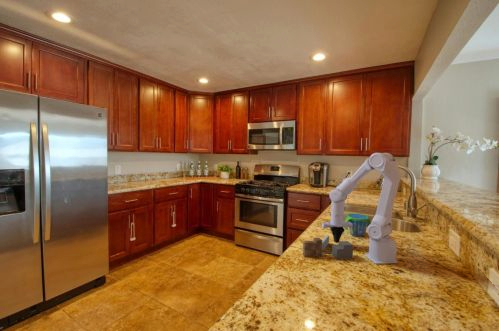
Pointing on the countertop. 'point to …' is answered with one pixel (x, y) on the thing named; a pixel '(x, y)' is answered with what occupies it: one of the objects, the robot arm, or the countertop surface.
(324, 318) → the countertop surface
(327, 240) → the pale grey bar
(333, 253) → the stepped block
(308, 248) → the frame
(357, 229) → the snack cup
